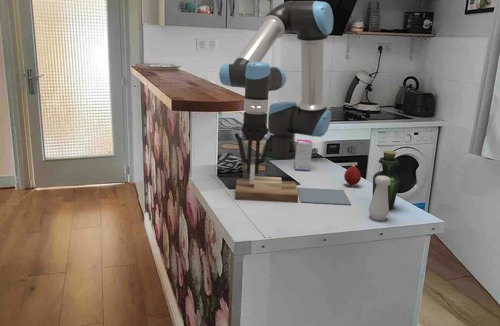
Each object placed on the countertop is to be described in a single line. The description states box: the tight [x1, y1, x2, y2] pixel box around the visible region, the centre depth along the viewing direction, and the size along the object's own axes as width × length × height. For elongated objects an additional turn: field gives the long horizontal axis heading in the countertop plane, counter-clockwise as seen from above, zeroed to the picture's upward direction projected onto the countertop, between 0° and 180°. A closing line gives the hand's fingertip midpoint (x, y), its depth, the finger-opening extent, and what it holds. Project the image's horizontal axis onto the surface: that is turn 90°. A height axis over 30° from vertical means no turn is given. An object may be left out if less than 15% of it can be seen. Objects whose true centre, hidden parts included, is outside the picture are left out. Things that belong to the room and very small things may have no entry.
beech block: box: [254, 175, 283, 190], centre depth 154 cm, size 6×9×2 cm, turn 89°
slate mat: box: [296, 187, 352, 206], centre depth 155 cm, size 14×16×1 cm
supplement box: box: [293, 138, 313, 172], centre depth 184 cm, size 6×6×12 cm
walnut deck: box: [234, 178, 299, 204], centre depth 155 cm, size 14×20×2 cm
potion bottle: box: [371, 150, 401, 211], centre depth 146 cm, size 8×8×18 cm
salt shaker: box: [368, 176, 390, 222], centre depth 137 cm, size 6×6×13 cm
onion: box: [343, 164, 362, 187], centre depth 166 cm, size 6×6×8 cm
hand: (251, 182), depth 154 cm, fingers closed
